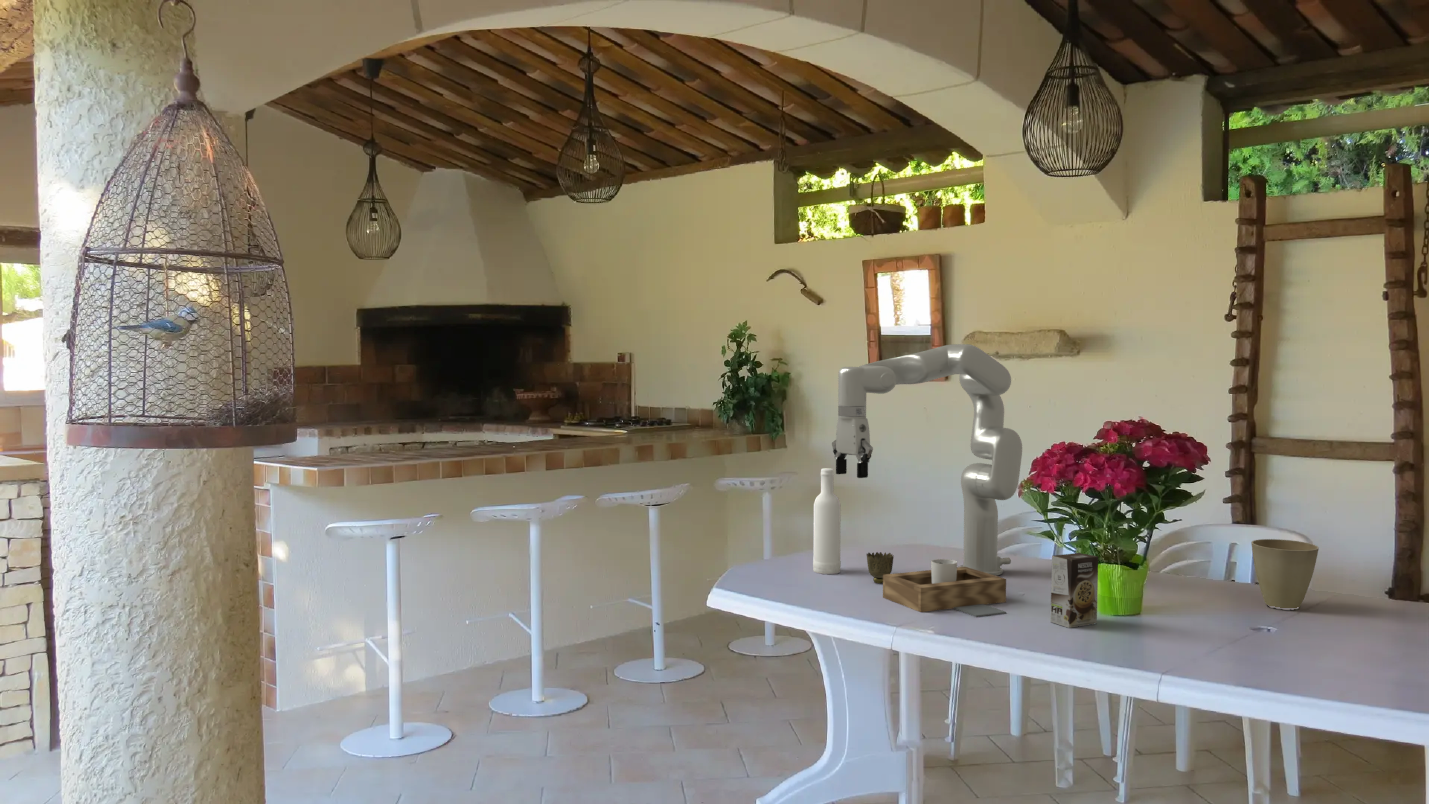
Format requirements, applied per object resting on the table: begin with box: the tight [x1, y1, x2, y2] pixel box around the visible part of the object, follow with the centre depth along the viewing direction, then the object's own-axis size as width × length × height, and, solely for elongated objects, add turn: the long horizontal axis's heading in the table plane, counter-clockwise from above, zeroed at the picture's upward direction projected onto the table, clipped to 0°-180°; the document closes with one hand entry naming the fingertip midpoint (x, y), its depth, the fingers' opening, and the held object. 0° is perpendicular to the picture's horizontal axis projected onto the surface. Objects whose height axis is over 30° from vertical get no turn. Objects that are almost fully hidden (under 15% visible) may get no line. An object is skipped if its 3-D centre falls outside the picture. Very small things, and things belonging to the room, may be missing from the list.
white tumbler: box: [930, 558, 958, 584], centre depth 279 cm, size 7×7×10 cm
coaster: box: [953, 604, 1007, 618], centre depth 268 cm, size 9×9×1 cm
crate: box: [882, 566, 1007, 613], centre depth 280 cm, size 26×17×6 cm, turn 114°
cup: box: [866, 551, 895, 585], centre depth 300 cm, size 8×7×8 cm
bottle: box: [812, 467, 842, 575], centre depth 314 cm, size 8×8×30 cm
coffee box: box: [1049, 552, 1099, 629], centre depth 256 cm, size 9×6×16 cm
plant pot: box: [1251, 538, 1320, 608], centre depth 271 cm, size 15×15×16 cm
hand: (851, 475), depth 293 cm, fingers open, 9 cm apart
